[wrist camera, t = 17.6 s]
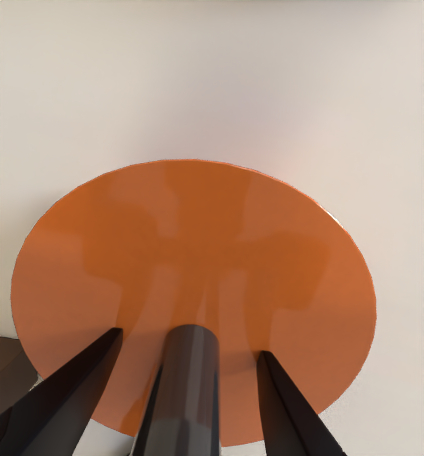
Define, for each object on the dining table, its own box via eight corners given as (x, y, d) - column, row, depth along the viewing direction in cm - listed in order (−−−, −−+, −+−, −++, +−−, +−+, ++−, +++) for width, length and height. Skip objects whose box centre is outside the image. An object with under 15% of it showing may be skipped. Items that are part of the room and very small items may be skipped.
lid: (213, 453, 13) (210, 655, 8) (-15, 335, 10) (-270, 530, 5) (427, 313, 9) (726, 533, 4) (154, 52, 6) (-248, -631, 1)
